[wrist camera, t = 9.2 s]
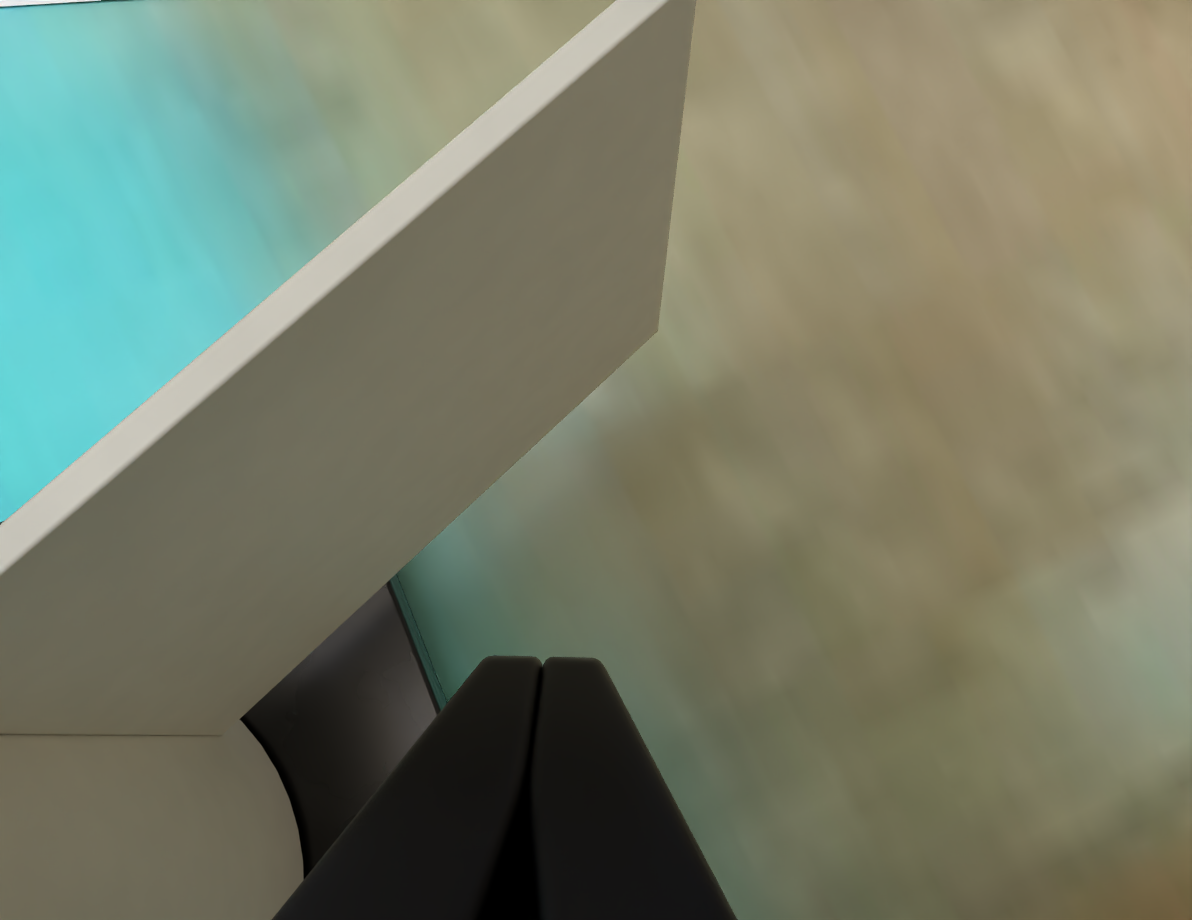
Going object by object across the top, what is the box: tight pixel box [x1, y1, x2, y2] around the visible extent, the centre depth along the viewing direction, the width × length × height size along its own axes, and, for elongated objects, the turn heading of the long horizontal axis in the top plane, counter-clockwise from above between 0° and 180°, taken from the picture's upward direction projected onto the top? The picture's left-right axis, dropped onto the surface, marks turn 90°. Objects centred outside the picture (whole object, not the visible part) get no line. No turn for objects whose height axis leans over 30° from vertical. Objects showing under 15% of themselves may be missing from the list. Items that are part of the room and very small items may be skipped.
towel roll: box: [0, 0, 696, 920], centre depth 12 cm, size 9×14×10 cm, turn 159°
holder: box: [0, 521, 447, 879], centre depth 17 cm, size 12×12×1 cm
